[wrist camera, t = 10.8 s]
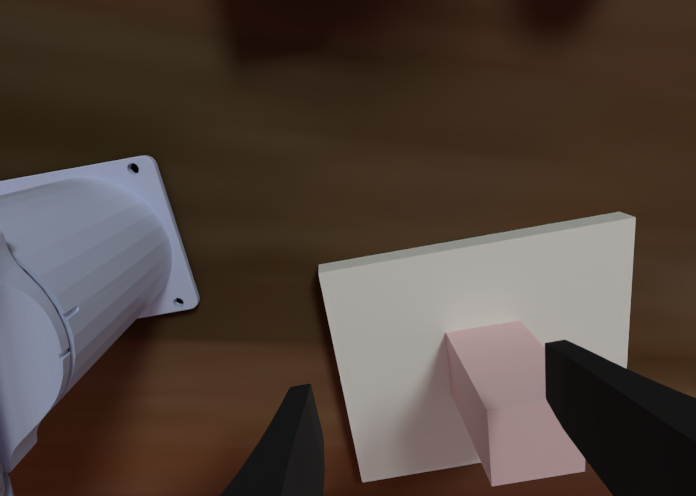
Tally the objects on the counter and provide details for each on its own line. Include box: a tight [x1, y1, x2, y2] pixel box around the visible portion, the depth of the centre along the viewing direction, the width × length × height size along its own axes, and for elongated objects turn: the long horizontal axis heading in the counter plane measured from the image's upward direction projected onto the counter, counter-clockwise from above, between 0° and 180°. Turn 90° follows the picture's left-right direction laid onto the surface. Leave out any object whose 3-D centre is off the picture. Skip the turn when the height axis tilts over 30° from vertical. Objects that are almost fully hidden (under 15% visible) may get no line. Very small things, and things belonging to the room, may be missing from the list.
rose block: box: [446, 320, 585, 486], centre depth 19 cm, size 4×4×6 cm
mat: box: [318, 212, 636, 483], centre depth 23 cm, size 16×14×1 cm
